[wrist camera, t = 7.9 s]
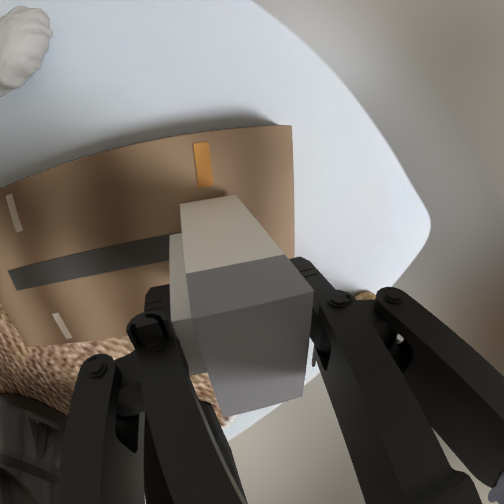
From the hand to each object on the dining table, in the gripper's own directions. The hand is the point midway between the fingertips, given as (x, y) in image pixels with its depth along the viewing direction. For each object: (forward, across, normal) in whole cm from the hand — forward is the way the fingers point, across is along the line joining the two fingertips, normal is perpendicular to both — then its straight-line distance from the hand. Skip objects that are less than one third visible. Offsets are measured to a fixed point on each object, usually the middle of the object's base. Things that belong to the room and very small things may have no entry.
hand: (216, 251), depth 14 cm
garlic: (+4, -11, +14) cm, 18 cm away
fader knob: (+1, 0, 0) cm, 1 cm away
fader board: (+4, -6, 0) cm, 7 cm away
